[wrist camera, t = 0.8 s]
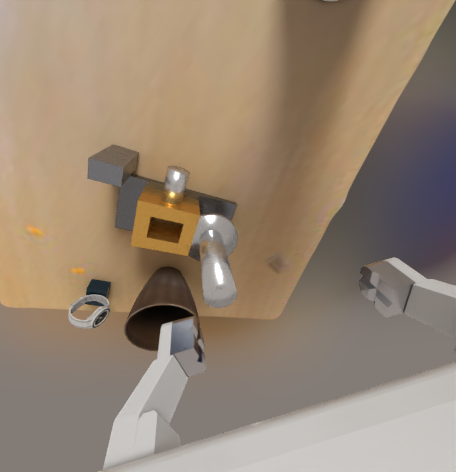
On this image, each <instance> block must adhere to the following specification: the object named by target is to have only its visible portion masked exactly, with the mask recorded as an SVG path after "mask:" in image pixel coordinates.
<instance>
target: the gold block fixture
mask: <svg viewBox="0 0 456 472" xmlns="http://www.w3.org/2000/svg"><path fill="white" fill-rule="evenodd" d="M189 174H190V173H189V172H188V171H187V170H185V169H183V168H180V167H176V166H168V168H167V173H166V177H165V182H164V183H163V182H159V181H155V180H152V179H148V178H145V177H141V176H137V175H134V174H131V175H130V177H129V178H128V179H127V180H126V182H125V183H124V184H123V185H122V187H120V191H119V199H118V207H117V216H116V224H115V227H117V228H121V229H126V230H131V231H133V234H132V240H131V246H135V247H141V248H146V249H152V250H157V251H163V252H168V253H174V254H179V255H185V256H188V254H189V255H190V256H191V257H192V258H194V259H196V260H198V261H200V262H201V273H202V285H203V296H204V301H205V303H206V304H207V305H209V306H211V307H215V308H221V307H225V306H228V305H230V304H231V303H233V302H234V300H235V299H236V297H237V290H236V287H235V283H234V279H233V275H232V272H231V268H230V264H229V260H228V257H227V256H228V255H230V254H231V253H232V251H233V250H234V249H235V247H236V244H237V240H238V235H237V231H236V228H235V226H234V224H233V223H232V222H231V219H232V216H233V214H234V211H235V209H236V206H237V205H236V203H235V202H231V201H228V200H224V199H220V198H217V197H213V196H210V195H206V194H202V193H199V192H195V191H192V190H188V189H186V186H187V182H188V178H189Z"/></svg>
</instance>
